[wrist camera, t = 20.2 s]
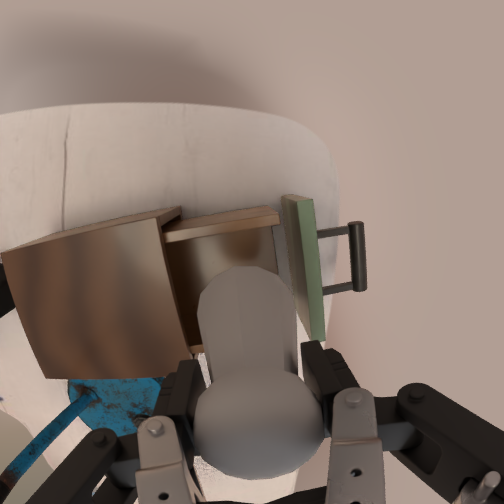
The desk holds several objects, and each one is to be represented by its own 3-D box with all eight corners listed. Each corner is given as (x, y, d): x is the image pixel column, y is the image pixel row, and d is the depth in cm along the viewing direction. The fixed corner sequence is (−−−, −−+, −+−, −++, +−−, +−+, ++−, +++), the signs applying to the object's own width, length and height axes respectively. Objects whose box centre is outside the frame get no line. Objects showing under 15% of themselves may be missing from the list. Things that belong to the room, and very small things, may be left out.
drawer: (340, 188, 29) (374, 191, 21) (349, 296, 31) (379, 328, 24) (143, 219, 28) (114, 232, 21) (169, 325, 31) (152, 366, 23)
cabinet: (180, 205, 29) (156, 216, 20) (204, 322, 32) (195, 374, 23) (52, 233, 29) (-1, 253, 20) (82, 335, 32) (45, 378, 22)
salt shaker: (210, 247, 19) (173, 364, 7) (297, 265, 20) (386, 389, 7) (195, 328, 21) (161, 487, 8) (275, 343, 21) (316, 499, 8)
